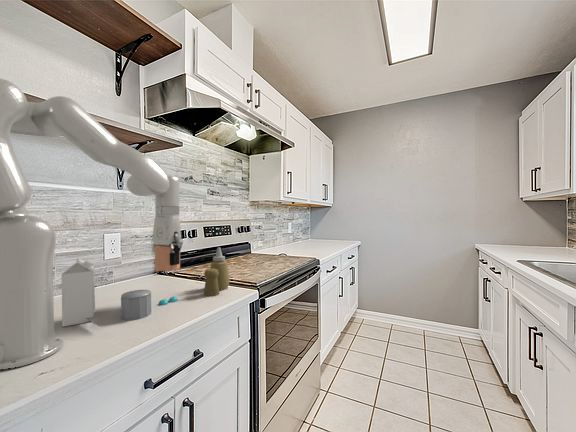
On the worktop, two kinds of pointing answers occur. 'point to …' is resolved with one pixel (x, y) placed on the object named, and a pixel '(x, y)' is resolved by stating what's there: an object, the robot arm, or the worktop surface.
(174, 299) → the marble
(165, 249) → the terracotta cup
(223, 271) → the squeeze bottle
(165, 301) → the marble
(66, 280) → the milk carton
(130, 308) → the grey faceted cylinder
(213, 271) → the olive pepper shaker
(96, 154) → the robot arm
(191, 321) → the worktop surface
